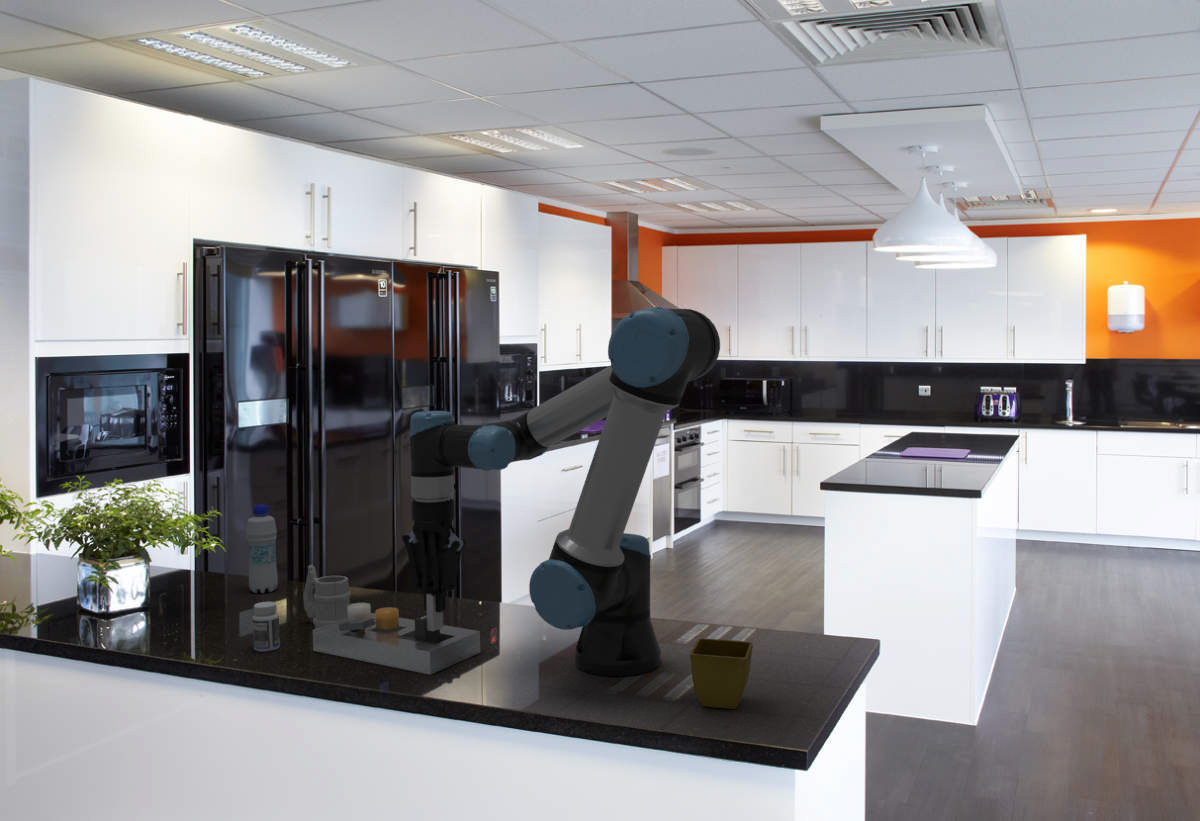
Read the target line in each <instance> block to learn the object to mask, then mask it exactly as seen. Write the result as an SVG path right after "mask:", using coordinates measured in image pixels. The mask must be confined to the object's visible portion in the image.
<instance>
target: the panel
mask: <svg viewBox="0 0 1200 821" xmlns="http://www.w3.org/2000/svg"><path fill="white" fill-rule="evenodd" d="M371 618H374V622H375V625H373V626H370V627H367V628H364V629H357V630H347V631H340V630H339V624H342V623H345V622H348V618H346V619H343V620H340V621H337V622H334V623H331V624H328V625H325V626H322V627H319V628H316V629H315V628H313V629H312V651H313V652H318V653H321V654H327V655H332V656H337V657H342V658H346V659H350V660H351V659H352V660H356V661H362V662H366V663H369V664H370V663H371V664H376V665H380V666H386V667H391V668H395V669H400V670H406V671H409V672H414V673H415V672H416V673H419V674H420V673H421V674H424V675H433V674H435V673H437V672H440V671H442V670H445V669H447V668H449V667H451V666H453V665H456V664H458V663H460V662H463V661H465V660H467V659H469V658H472V657H473V656H476V655H478V654H481V631H480V630H474V629H468V628H464V627H458V626H457V627H456V626H452V625H450V626H449V625H445V624H443V628H441V629H440V643H433V642H428V641H422V640H417V639H415V619H411V618H410V619H409V618H405V617H404V618H403V617H399V627H397V628H394V629H387V630H382V629H377V628H376V616H375V612H371Z"/></svg>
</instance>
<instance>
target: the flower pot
mask: <svg viewBox="0 0 1200 821" xmlns="http://www.w3.org/2000/svg"><path fill="white" fill-rule="evenodd" d="M753 646H754V643H753V642H751V641H743V640H730V639H720V638H718V639H717V638H714V639H713V638H700V637H699V638H698V639H697V640H696V643H695V644H694V646H693V648H692V649H691V651H690V653H689V656H690V657H689V658H690V667H691V675H692V676H691V677H692V678H691V679H692V684H693V687H694V691H695V694H696V696H697V698H698V700H699V702H700V703H701V705H702V706H703V707H707V708H716V709H719V708H720V709H728V710H735V709H737V707H738V706H739V703H740V701H741V699H742V698H743V694H744V691H745V688H746V686H747V683H748V680H749V677H750V676H749V675H750V671H751V665H752V664H751V662H752V654H753Z"/></svg>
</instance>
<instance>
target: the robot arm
mask: <svg viewBox="0 0 1200 821" xmlns="http://www.w3.org/2000/svg"><path fill="white" fill-rule="evenodd" d="M611 332H612V333H611V335H610V338H609V340H608V346H607V356H608V359H609V360H610V365H609V366H608V367H607V366H606V367H605V368H604V369H603V368H602V370H600V371H598V372H597V373H594V374H593V375H591V376H589V377H587V378H586V379H583V380H582V381H579V383H576V384H575V385H573V386H571V387H570V388H567V389H566V390H564V391H562V392H560V393H559V394H556V395H555V396H554V397H551V398H550V399H547V400H546V401H544V402H542V403H541V404H538V405H536V406H535V407H534V408H532V409H529V411H527V412H525V413H522V414H521V415H519V416H517V417H516V418H513V419H509V420H503V421H499V422H498V421H497V422H496V421H495V422H491V423H490V422H489V423H483V424H458V423H455V421H454V417H453V413H452V412H450V411H445V410H425V411H423V410H422V411H417V412H414V413H412V415H411V417H410V423H409V424H410V426H409V428H410V429H409V436H408V438H409V445H410V446H409V447H410V449H409V450H410V462H411V464H410V468H411V470H410V496H411V497H412V498H413V499H412V500H411V504H410V505H411V520H412V522H413V526H412V530H411V532H409V533H406V534H403V535H402V537H401V540H402V542H403V544H404V546H405V548H406V552H407V557H408V561H409V567H410V572H411V577H412V582H413V585H414V586H413V587H414V588H415V589H419V590H421V592H422V593H423V608H424V611H426V615H427V630H429V631H436V630H438V629H441V628H443V625H444V612H445V611H446V609H447V607H446V604H447V602H446V600H447V599H446V594H447V593H448V592H451V591H454V590H455V588H456V584H457V578H458V574H459V569H460V563H461V557H462V552H463V550H464V548H465V546H466V544H467V541H466V539H464V538H461V539H460V538H459V537H458V536H457V535H456V534H455V533H456V531H455V530H456V529H455V527H454V525H453V522H454V519H455V500H454V499H453V498H452V497H453V496H454V495H455V489H454V487H455V484H454V483H455V482H454V481H455V480H454V479H455V478H454V472H455V471H454V470H455V468H465V469H477V470H482V471H487V472H488V471H492V470H493V471H503V470H505V469H507V468H508V466H509V465H510V464H511V463H516V462H520V461H530V460H533V459H536V458H537V457H541V456H542V455H543V454H545V453H546V452H547V451H548V450H549V448H550V447H551V446H554V445H556V444H558V443H560V442H561V441H563V440H566V439H567V438H569V437H570V436H572V435H574V434H577V433H578V432H581V431H582V430H584V429H586V428H588V427H590V426H592V425H595V424H596V423H597V422H600V421H601V420H604V419H605V421H604V425H603V428H602V430H601V433H600V437H599V439H598V442H597V444H596V447H595V451H594V454H593V456H592V459H591V463H590V466H589V469H588V471H587V474H586V478H585V480H584V484H583V487H582V489H581V491H580V492H581V493H580V495H579V498H578V500H577V503H576V507H575V511H574V513H573V515H572V519H571V522H570V524H569V527H568V528H567V529H565V530H562V531H560V532H558V534H557V535H556V537H555V539H554V543H553V546H552V547H551V548H552V549H551V551H550V555H549V557H548V559H547V560H544V561H542V562H540V563H539V565H538V566H536V567H535V569H534V570H533V571H532V573H531V575H530V579H529V585H528V586H529V589H528V590H529V597H530V600H531V603H532V604H533V605H534V608H535V611H536V613H537V614H538V616H540V618H541V619H542V620H543V621H544V622H546V623H547V624H548V625H550V626H551V627H554V628H555V629H559V630H564V631H565V630H566V631H567V630H575V629H578V628H581V630H580V634H579V636H578V640H577V643H576V647H575V649H574V650H575V651H574V663H575V666H576V667H577V668H578V669H579V670H581V671H583V672H586V673H590V674H593V675H600V676H609V677H611V676H612V677H613V676H614V677H625V676H635V675H640V674H644V673H645V674H646V673H649V672H651V671H653V670H655V669H657V668H659V667H660V666H661V661H662V659H661V658H662V657H661V655H662V654H661V653H662V652H661V648H660V645H659V642H658V638H657V635H656V632H655V630H654V627H653V624H652V620H651V558H652V556H651V553H650V542H649V540H648V539H647V537H645V536H643V535H641V534H635V533H624V532H625V530H626V527H627V524H628V521H629V519H630V516H631V512H632V509H633V507H634V504H635V502H636V498H637V496H638V494H639V491H640V488H641V485H642V482H643V480H644V476H645V474H646V471H647V467H648V465H649V462H650V459H651V457H652V454H653V451H654V447H655V445H656V442H657V439H658V436H659V434H660V430H661V429H662V425H663V422H664V419H665V417H666V415H667V413H668V411H671V410H673V409H675V408H677V407H679V405H680V403H681V401H682V399H683V395H684V392H685V391H686V387H687V384H688V383H689V382H692V381H694V380H697V379H700V378H702V377H703V376H705V375H706V374H708V373H709V372H710V371H711V370H712V369H713V368H714V366H715V365H716V363H717V361H718V358H719V354H720V351H721V338H720V334H719V332H718V329H717V327H716V325H715V324H714V323H713V322H712V320H711V319H710V318H709V317H707V316H706V315H705V314H704V313H702V312H700V311H697V310H696V309H695V310H694V309H692V308H663V307H661V306H655V307H654V306H653V307H645V308H642V309H638V310H635V311H633V312H631V313H629V314H627V315H625V316H624V317H623V318H622V319H621V320H620V321H618V323H617V324H616V326H615V327H614V329H613V331H611Z"/></svg>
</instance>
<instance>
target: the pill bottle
mask: <svg viewBox="0 0 1200 821" xmlns="http://www.w3.org/2000/svg"><path fill="white" fill-rule="evenodd" d="M253 613H254V615H252V619H251V620H252V639H253V650H255V652H260V653H261V652H263V653H264V652H271V651H276V650H278V649H279V648H280V647H281V639H280V638H281V636H280V631H281V630H280V616H279V613H278V612H277V603H276V602H275V601H262V602H256V603H255V604H254V605H253Z"/></svg>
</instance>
